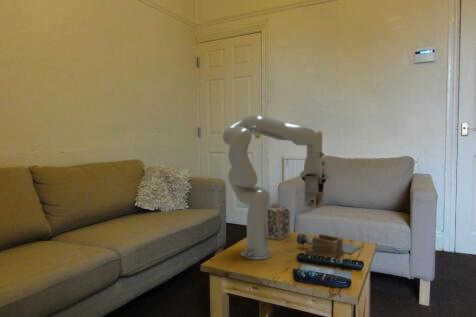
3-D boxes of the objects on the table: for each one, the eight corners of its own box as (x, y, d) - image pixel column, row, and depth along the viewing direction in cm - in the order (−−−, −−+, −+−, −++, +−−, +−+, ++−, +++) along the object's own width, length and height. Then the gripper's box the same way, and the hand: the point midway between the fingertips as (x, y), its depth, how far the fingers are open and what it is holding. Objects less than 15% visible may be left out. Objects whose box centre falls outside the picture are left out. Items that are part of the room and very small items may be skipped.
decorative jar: (279, 241, 181) (279, 206, 180) (260, 237, 188) (260, 204, 187) (290, 235, 191) (290, 203, 190) (272, 232, 198) (272, 200, 197)
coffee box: (311, 203, 181) (311, 172, 180) (323, 205, 177) (323, 173, 176) (304, 206, 174) (304, 174, 173) (316, 208, 170) (316, 175, 169)
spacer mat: (350, 254, 160) (350, 253, 160) (326, 249, 167) (326, 248, 167) (360, 247, 169) (360, 246, 169) (336, 243, 177) (336, 241, 177)
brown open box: (333, 259, 153) (334, 243, 153) (305, 253, 162) (305, 237, 162) (343, 253, 161) (343, 237, 160) (315, 247, 170) (315, 232, 169)
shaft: (322, 250, 159) (322, 240, 159) (296, 244, 168) (296, 235, 168) (327, 247, 163) (327, 237, 163) (301, 242, 172) (301, 232, 171)
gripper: (334, 155, 171) (333, 191, 172) (302, 154, 182) (302, 188, 183) (327, 156, 165) (326, 193, 167) (295, 155, 177) (295, 190, 178)
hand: (313, 190), depth 175 cm, fingers closed on coffee box, 6 cm apart
